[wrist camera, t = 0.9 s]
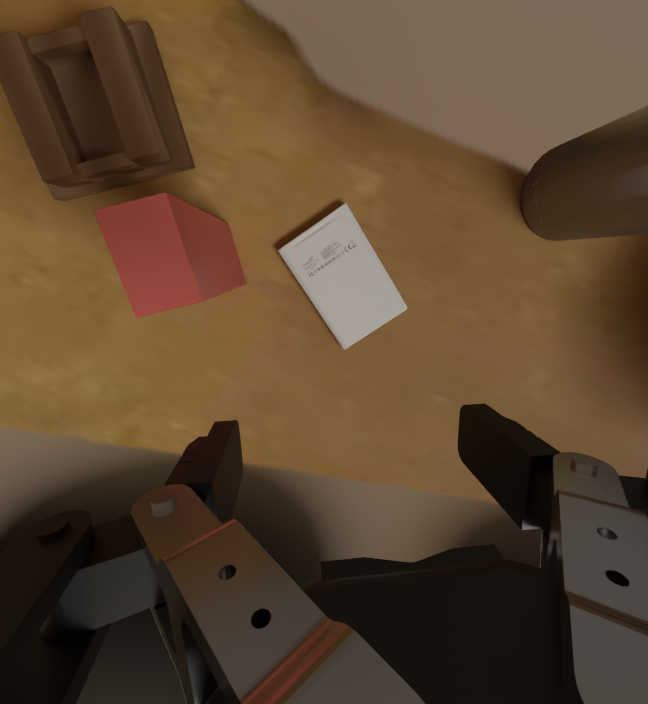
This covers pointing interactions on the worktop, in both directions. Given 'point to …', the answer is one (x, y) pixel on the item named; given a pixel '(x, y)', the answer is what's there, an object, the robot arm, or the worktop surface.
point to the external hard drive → (343, 277)
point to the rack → (94, 104)
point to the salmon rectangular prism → (169, 252)
